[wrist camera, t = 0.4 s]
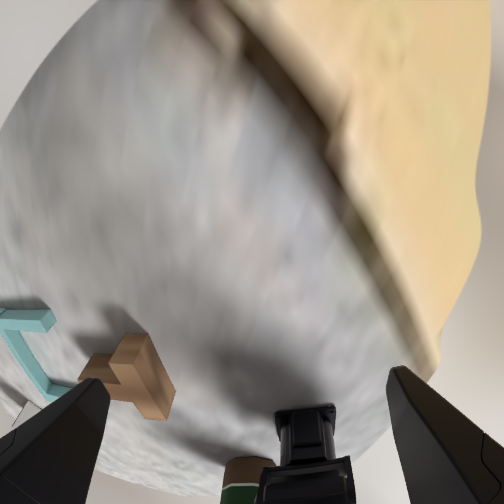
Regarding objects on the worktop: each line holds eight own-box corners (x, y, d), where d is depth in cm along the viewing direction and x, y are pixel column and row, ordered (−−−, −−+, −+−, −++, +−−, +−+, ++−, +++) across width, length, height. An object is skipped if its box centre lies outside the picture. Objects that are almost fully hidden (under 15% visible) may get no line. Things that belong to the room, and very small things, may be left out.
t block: (82, 333, 26) (63, 358, 22) (148, 333, 25) (132, 364, 21) (113, 386, 29) (101, 412, 25) (176, 390, 28) (166, 420, 24)
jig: (106, 401, 30) (100, 412, 29) (52, 391, 32) (46, 400, 30) (49, 307, 25) (39, 318, 23) (0, 307, 26) (-9, 316, 24)
